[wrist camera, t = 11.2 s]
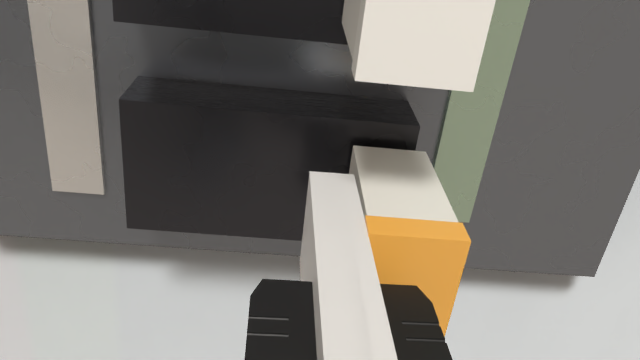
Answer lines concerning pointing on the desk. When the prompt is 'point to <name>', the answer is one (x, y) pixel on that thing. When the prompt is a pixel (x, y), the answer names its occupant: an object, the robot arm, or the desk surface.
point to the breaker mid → (417, 41)
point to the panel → (524, 169)
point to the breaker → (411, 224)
